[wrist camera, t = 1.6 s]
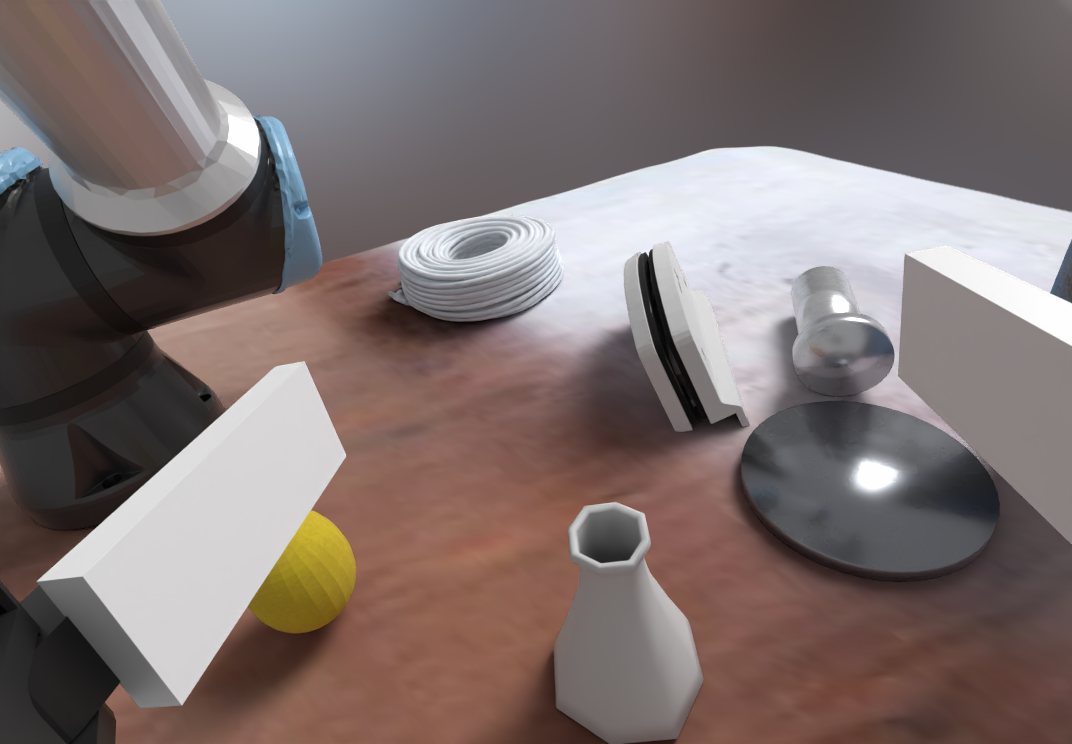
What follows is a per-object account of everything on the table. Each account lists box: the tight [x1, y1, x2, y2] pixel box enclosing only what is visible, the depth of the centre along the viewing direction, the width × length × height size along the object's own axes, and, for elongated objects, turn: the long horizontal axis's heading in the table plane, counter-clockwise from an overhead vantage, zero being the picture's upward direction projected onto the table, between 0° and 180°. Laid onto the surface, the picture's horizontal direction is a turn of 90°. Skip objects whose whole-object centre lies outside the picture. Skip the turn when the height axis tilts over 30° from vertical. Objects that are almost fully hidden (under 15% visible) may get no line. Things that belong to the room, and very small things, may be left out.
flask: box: [553, 502, 704, 744], centre depth 25 cm, size 7×7×10 cm
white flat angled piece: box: [624, 242, 750, 432], centre depth 44 cm, size 17×5×10 cm, turn 175°
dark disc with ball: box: [741, 266, 999, 581], centre depth 37 cm, size 13×26×6 cm, turn 165°
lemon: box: [248, 510, 356, 633], centre depth 30 cm, size 6×6×8 cm
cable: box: [387, 215, 564, 321], centre depth 62 cm, size 18×18×6 cm
